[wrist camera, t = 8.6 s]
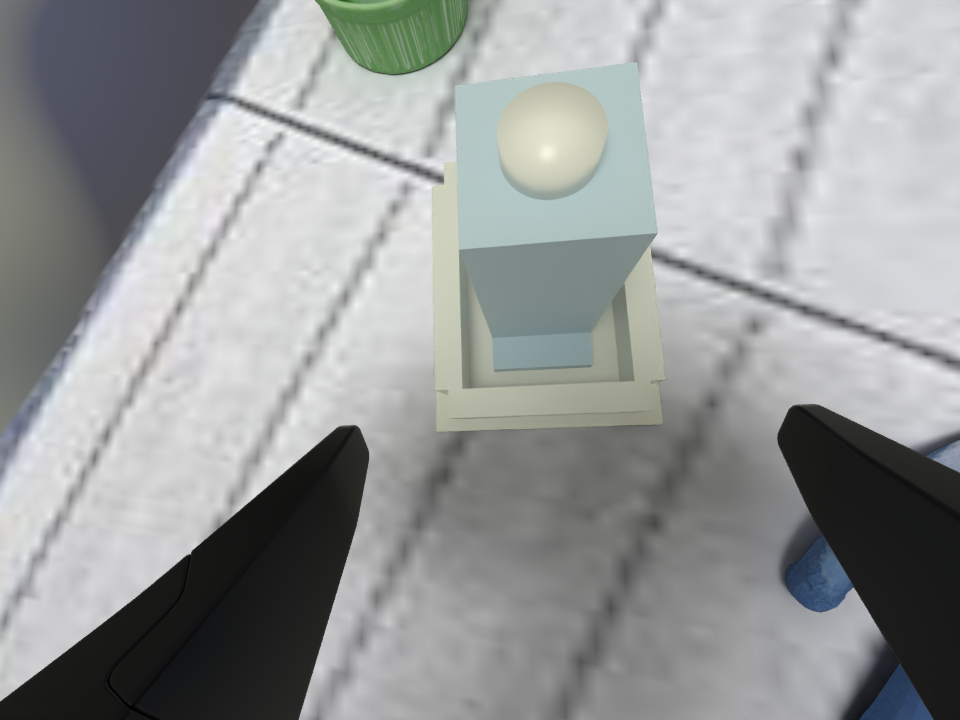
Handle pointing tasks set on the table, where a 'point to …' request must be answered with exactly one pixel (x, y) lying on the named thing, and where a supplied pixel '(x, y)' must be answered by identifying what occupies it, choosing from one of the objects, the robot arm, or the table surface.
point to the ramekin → (396, 31)
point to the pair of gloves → (824, 586)
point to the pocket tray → (538, 393)
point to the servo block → (551, 206)
